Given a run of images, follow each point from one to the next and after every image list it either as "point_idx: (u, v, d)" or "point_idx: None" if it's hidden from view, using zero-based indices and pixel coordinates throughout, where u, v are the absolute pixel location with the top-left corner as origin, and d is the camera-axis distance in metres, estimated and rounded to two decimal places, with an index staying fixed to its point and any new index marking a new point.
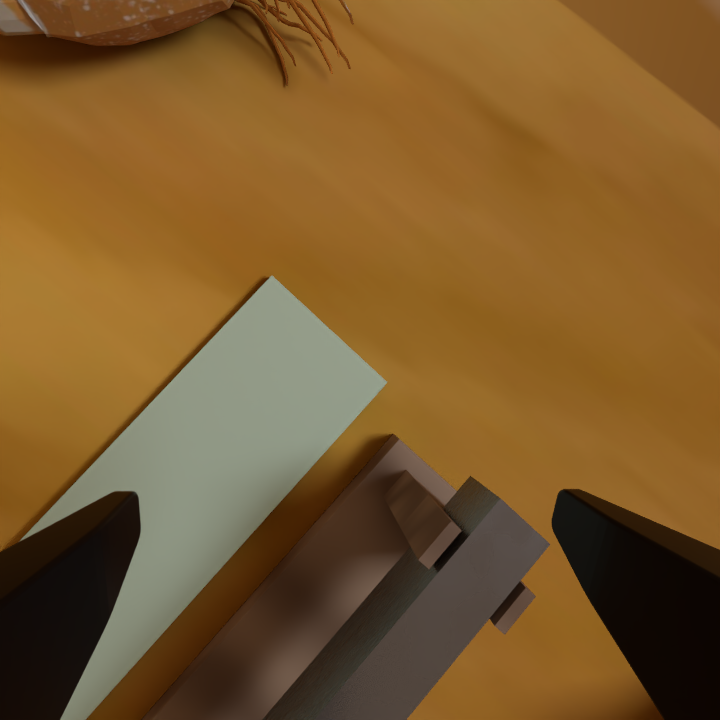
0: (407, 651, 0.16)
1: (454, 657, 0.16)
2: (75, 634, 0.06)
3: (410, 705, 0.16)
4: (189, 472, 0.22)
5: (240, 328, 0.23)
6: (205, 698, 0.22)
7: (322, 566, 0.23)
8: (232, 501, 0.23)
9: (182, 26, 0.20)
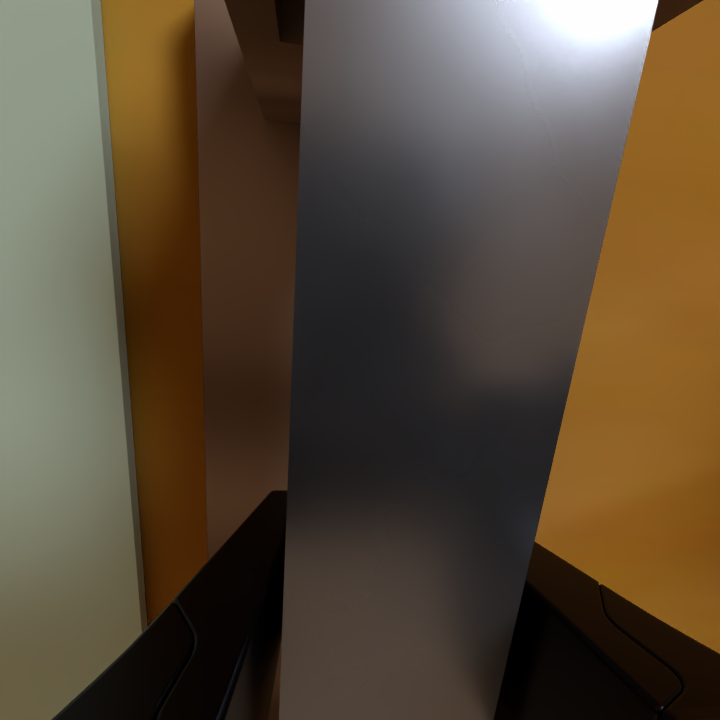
0: (416, 279, 0.04)
1: (607, 189, 0.04)
2: (278, 624, 0.06)
3: (539, 430, 0.05)
4: None
5: None
6: None
7: (261, 332, 0.11)
8: (37, 340, 0.11)
9: None
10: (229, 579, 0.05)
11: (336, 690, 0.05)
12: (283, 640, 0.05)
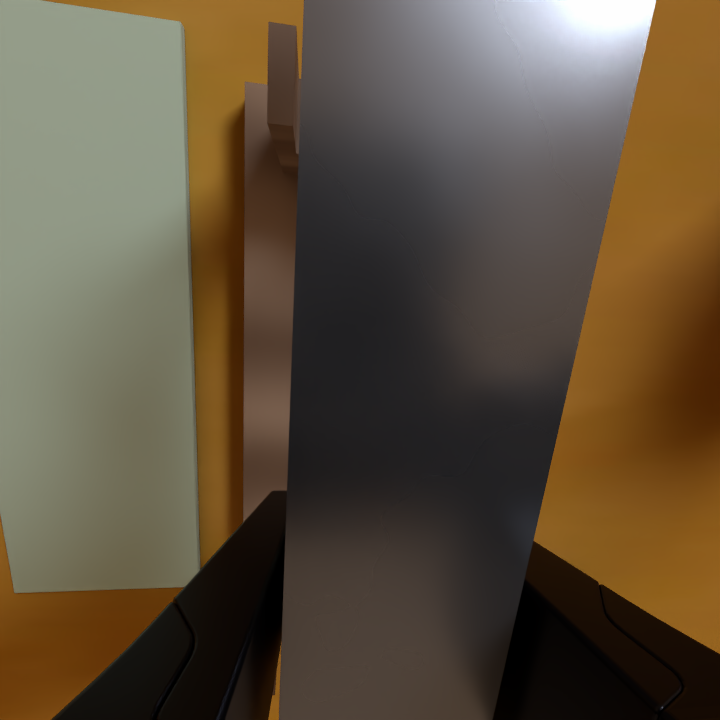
0: (416, 278, 0.04)
1: (606, 187, 0.04)
2: (278, 624, 0.06)
3: (538, 428, 0.05)
4: (70, 308, 0.17)
5: None
6: (273, 489, 0.20)
7: (280, 301, 0.18)
8: (140, 306, 0.18)
9: None
10: (229, 579, 0.05)
11: (336, 688, 0.05)
12: (283, 638, 0.05)
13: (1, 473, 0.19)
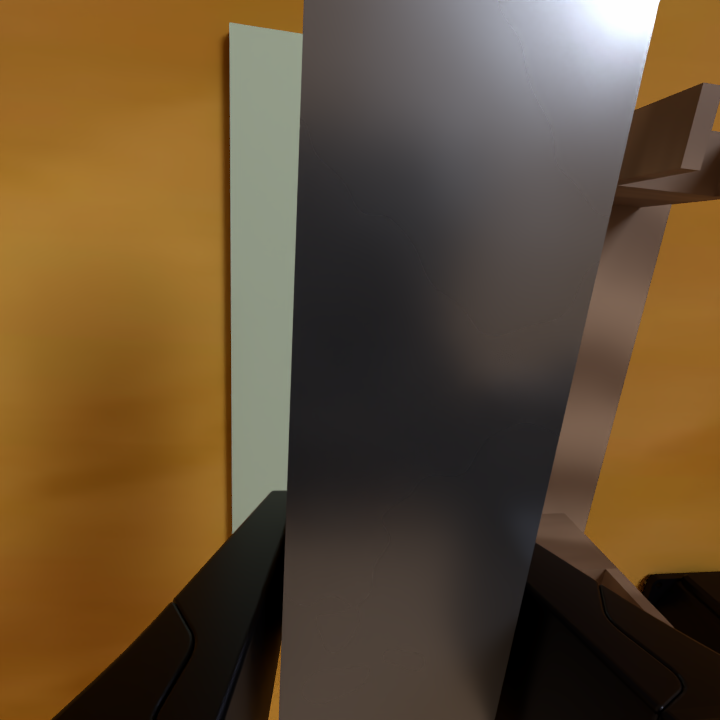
0: (417, 275, 0.04)
1: (609, 183, 0.04)
2: (278, 624, 0.06)
3: (540, 427, 0.04)
4: None
5: (249, 124, 0.16)
6: None
7: None
8: None
9: None
10: (229, 579, 0.05)
11: (336, 691, 0.05)
12: (283, 639, 0.05)
13: (238, 473, 0.20)
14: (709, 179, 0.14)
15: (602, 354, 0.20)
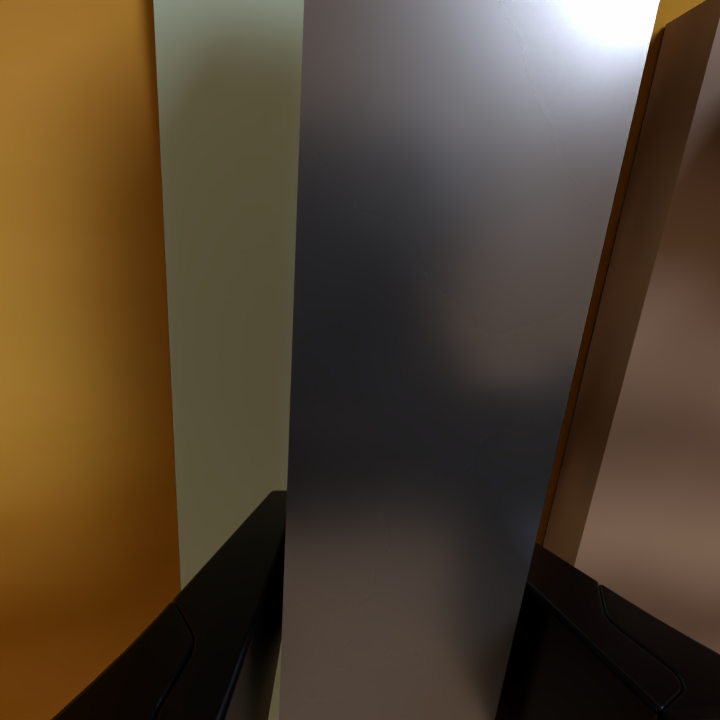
0: (416, 276, 0.04)
1: (609, 183, 0.04)
2: (278, 624, 0.06)
3: (540, 427, 0.04)
4: None
5: (193, 5, 0.08)
6: None
7: (678, 367, 0.11)
8: None
9: None
10: (229, 579, 0.05)
11: (336, 689, 0.05)
12: (283, 639, 0.05)
13: None
14: None
15: None
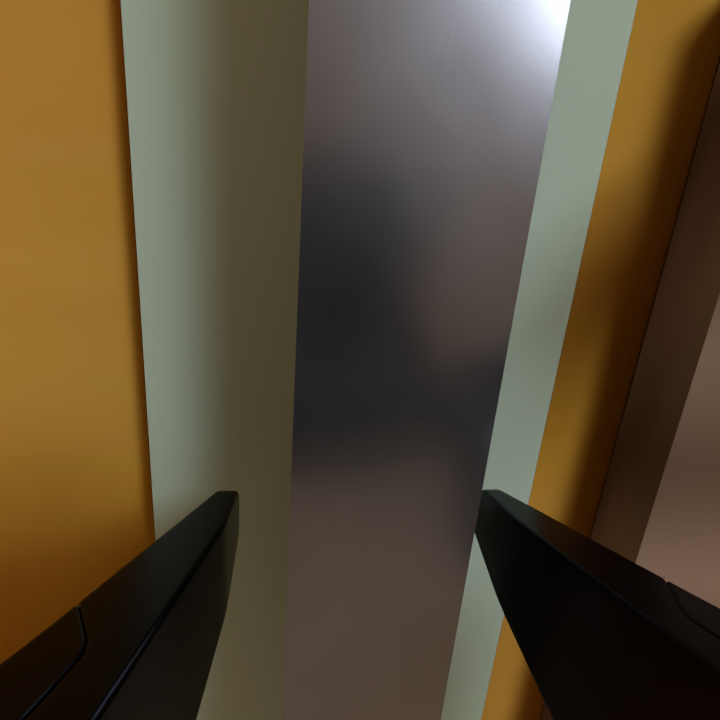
0: (388, 267, 0.05)
1: (528, 200, 0.05)
2: (209, 627, 0.06)
3: (485, 383, 0.06)
4: None
5: None
6: None
7: None
8: None
9: None
10: (143, 582, 0.05)
11: (331, 594, 0.07)
12: (289, 550, 0.06)
13: None
14: None
15: None
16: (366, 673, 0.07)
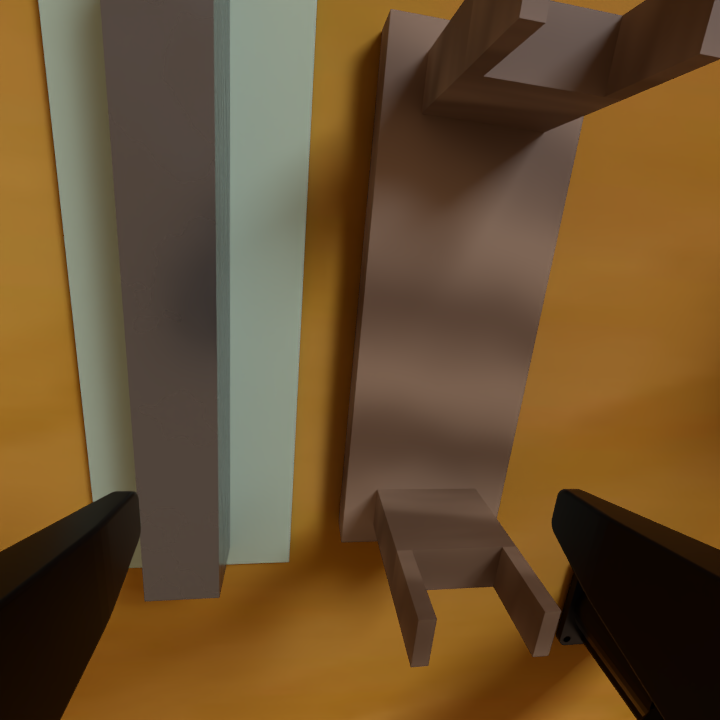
0: (152, 161, 0.12)
1: (212, 133, 0.12)
2: (75, 634, 0.06)
3: (207, 219, 0.13)
4: None
5: (64, 13, 0.13)
6: (379, 458, 0.19)
7: (405, 255, 0.16)
8: (252, 260, 0.17)
9: None
10: None
11: (147, 327, 0.14)
12: (122, 300, 0.14)
13: (94, 440, 0.18)
14: (596, 74, 0.12)
15: (508, 306, 0.18)
16: (172, 377, 0.14)
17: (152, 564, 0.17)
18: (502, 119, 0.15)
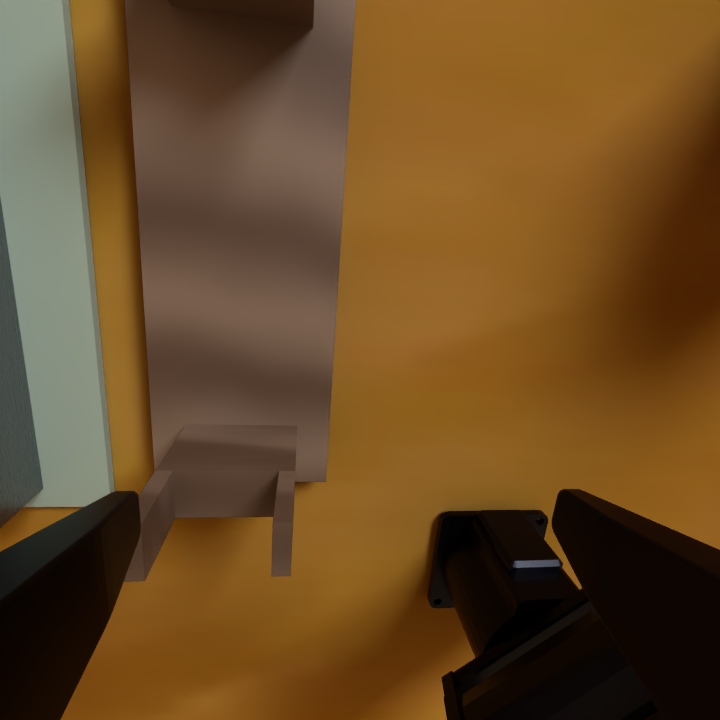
0: None
1: None
2: (75, 634, 0.06)
3: None
4: None
5: None
6: (183, 389, 0.18)
7: (176, 163, 0.16)
8: (22, 172, 0.16)
9: None
10: None
11: None
12: None
13: None
14: None
15: (303, 222, 0.17)
16: None
17: None
18: (250, 6, 0.14)
